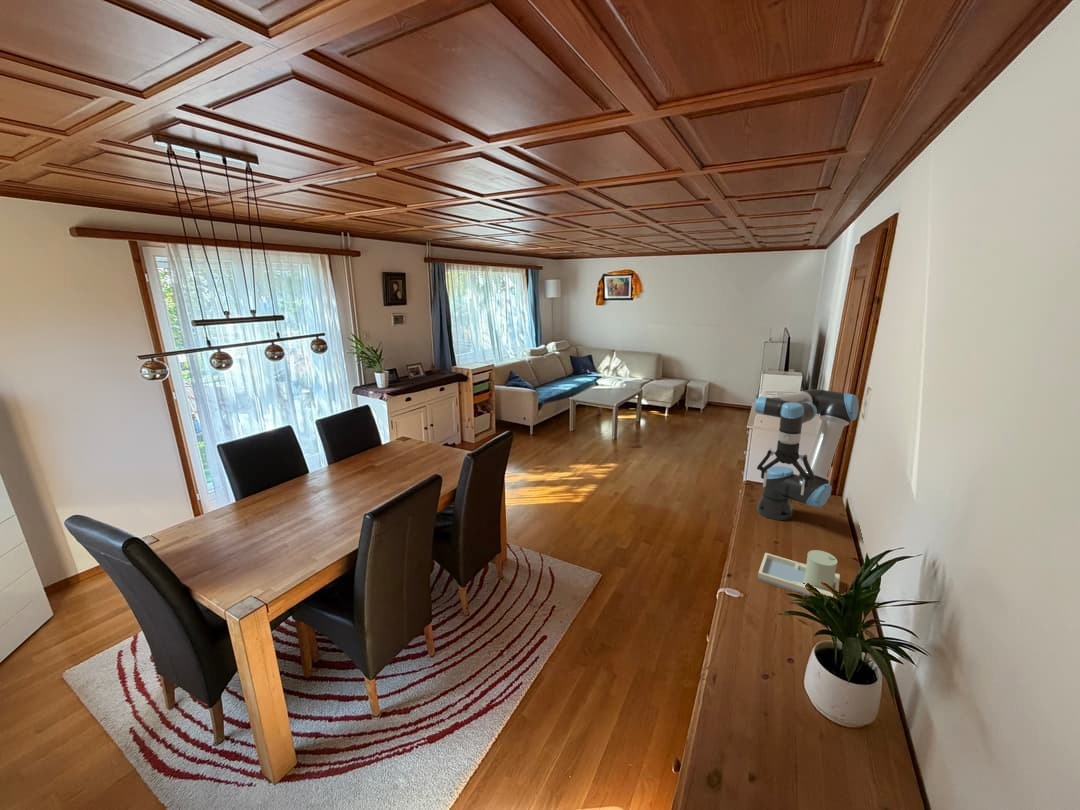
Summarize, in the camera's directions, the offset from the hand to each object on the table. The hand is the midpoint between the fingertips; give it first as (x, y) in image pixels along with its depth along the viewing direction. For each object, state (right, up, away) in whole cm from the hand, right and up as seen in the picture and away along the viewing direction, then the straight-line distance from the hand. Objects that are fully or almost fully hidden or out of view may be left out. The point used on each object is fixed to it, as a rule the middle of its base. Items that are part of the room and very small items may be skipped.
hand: (782, 489), depth 173 cm
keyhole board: (-2, -32, -14) cm, 35 cm away
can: (+3, -32, -18) cm, 36 cm away
